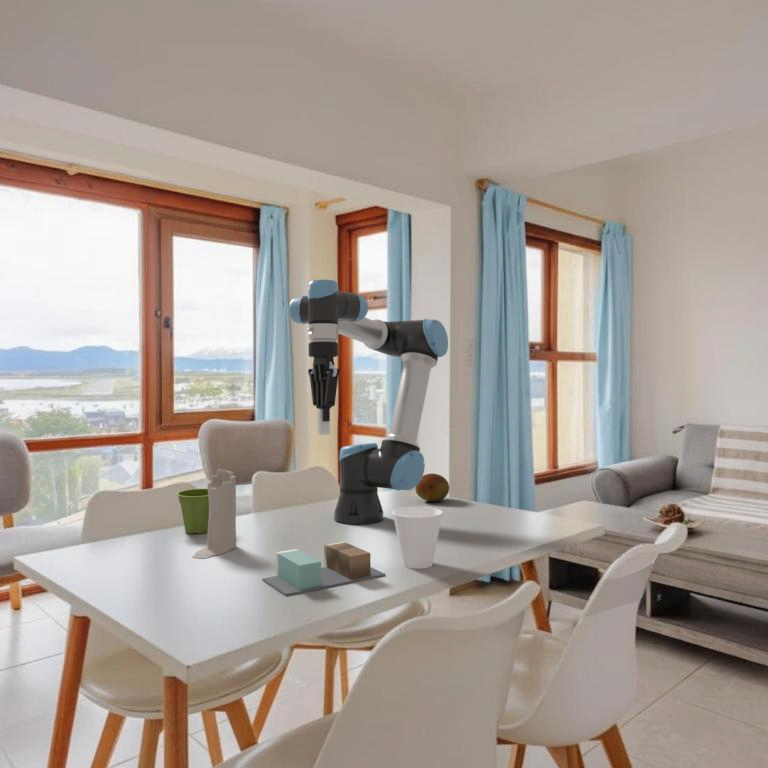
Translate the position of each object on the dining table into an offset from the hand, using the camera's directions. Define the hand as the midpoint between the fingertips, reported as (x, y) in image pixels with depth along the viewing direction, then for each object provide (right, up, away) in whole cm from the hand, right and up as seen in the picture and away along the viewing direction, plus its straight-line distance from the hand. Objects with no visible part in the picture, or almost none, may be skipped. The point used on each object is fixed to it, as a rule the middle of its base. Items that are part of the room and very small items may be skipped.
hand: (323, 434), depth 167 cm
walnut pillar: (+4, -27, -14) cm, 31 cm away
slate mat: (+2, -30, -23) cm, 38 cm away
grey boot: (-28, -30, -1) cm, 41 cm away
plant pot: (-38, -30, +20) cm, 52 cm away
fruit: (+32, -29, +63) cm, 76 cm away
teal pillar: (-6, -27, -21) cm, 35 cm away
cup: (+23, -30, -13) cm, 40 cm away
